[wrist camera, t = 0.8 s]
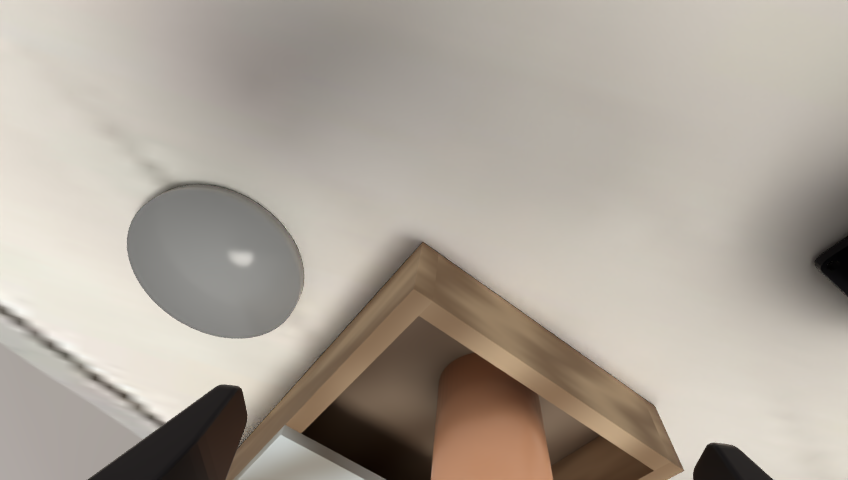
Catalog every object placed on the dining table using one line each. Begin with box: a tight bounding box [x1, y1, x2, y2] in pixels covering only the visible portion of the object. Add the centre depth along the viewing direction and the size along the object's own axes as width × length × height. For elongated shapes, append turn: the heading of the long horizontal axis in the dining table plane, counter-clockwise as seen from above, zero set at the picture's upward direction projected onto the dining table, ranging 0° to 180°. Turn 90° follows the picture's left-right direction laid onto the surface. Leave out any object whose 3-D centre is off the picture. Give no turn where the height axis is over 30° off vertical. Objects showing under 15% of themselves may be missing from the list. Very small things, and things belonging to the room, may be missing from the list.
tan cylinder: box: [431, 353, 553, 480], centre depth 22 cm, size 6×6×7 cm
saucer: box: [127, 184, 304, 338], centre depth 23 cm, size 9×9×1 cm
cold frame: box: [226, 242, 684, 480], centre depth 27 cm, size 17×22×5 cm
